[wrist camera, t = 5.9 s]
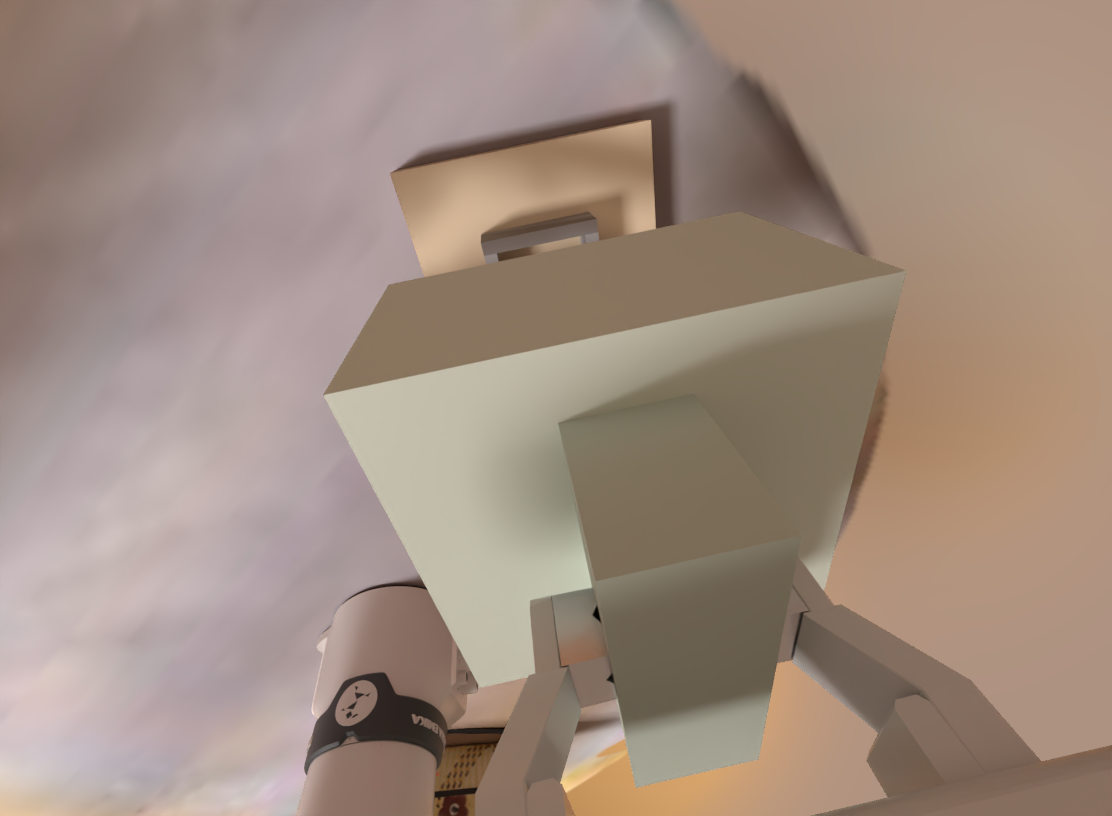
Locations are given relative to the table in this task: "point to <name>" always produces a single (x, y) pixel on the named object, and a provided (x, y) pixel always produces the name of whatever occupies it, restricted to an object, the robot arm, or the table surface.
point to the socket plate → (529, 197)
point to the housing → (628, 455)
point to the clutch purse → (461, 775)
